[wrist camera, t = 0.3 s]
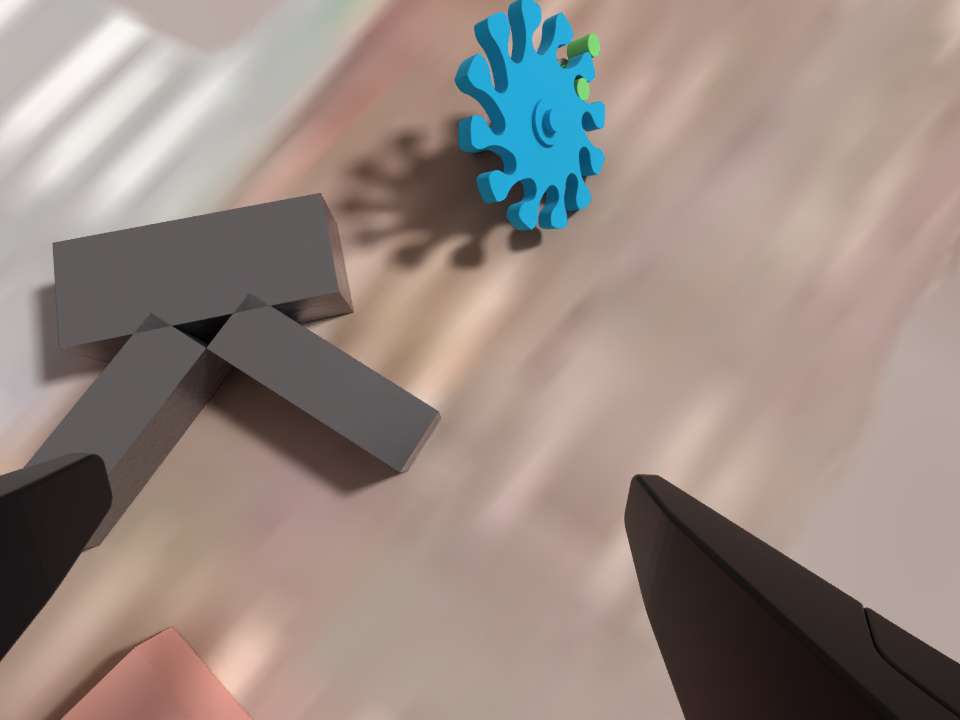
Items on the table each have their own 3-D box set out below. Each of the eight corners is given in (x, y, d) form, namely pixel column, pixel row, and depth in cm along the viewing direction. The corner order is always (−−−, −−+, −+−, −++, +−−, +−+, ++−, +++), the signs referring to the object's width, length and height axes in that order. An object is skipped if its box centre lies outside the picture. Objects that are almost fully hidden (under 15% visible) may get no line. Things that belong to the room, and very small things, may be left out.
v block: (450, 460, 23) (449, 460, 20) (50, 557, 22) (-15, 572, 19) (396, 212, 26) (388, 180, 23) (35, 282, 24) (-24, 257, 21)
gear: (552, 274, 24) (434, 80, 18) (472, 273, 28) (355, 116, 22) (643, 133, 27) (573, -68, 21) (560, 151, 32) (482, -12, 25)
